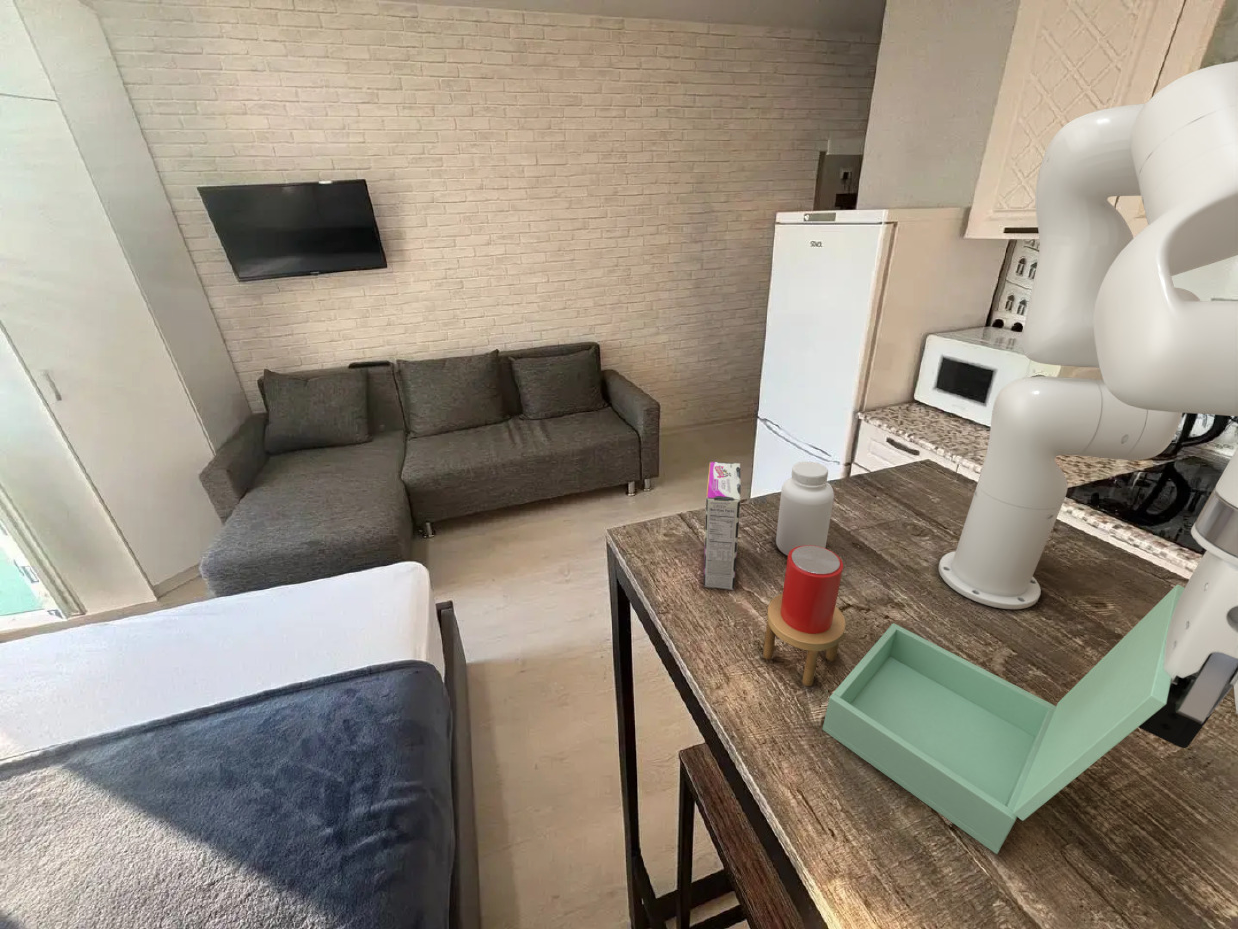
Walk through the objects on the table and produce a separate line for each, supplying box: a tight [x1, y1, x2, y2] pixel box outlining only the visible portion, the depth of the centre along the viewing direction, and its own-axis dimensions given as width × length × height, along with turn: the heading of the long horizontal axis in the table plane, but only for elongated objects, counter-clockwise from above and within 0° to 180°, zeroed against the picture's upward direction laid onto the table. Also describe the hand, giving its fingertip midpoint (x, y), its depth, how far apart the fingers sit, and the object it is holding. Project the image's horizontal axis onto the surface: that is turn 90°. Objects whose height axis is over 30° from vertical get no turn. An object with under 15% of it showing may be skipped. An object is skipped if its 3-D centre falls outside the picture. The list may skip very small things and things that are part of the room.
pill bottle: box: [775, 461, 835, 557], centre depth 83 cm, size 8×8×15 cm
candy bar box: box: [703, 461, 742, 591], centre depth 78 cm, size 11×5×16 cm, turn 168°
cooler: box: [822, 622, 1057, 855], centre depth 54 cm, size 17×16×5 cm
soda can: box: [780, 545, 844, 634], centre depth 60 cm, size 6×6×9 cm
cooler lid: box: [1013, 584, 1185, 822], centre depth 42 cm, size 18×16×1 cm
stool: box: [762, 592, 846, 687], centre depth 64 cm, size 9×9×7 cm
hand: (1157, 729), depth 40 cm, fingers closed
